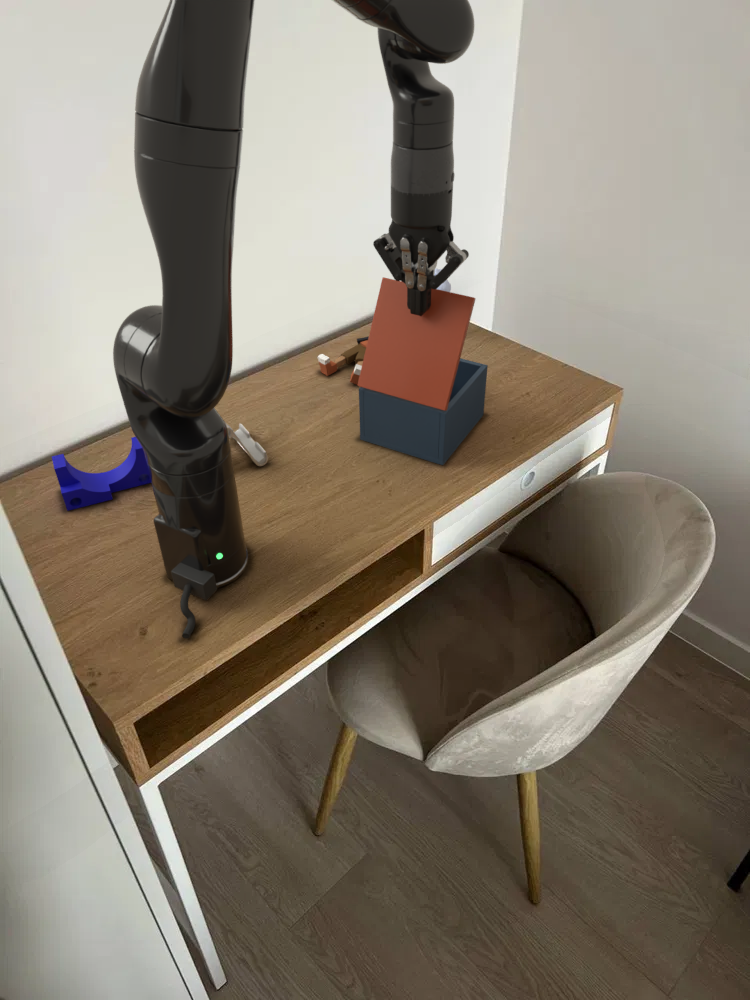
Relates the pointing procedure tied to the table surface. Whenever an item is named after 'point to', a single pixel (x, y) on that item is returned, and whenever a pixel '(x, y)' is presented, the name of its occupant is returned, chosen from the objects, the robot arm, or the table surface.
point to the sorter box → (425, 417)
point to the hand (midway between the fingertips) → (419, 312)
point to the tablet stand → (248, 445)
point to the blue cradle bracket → (100, 479)
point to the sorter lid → (415, 345)
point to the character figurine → (346, 360)
